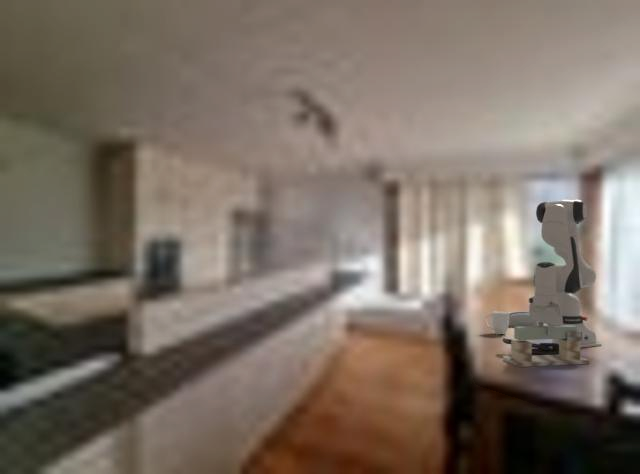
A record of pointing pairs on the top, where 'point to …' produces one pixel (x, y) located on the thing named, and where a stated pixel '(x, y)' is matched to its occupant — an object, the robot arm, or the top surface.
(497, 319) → the mug
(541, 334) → the rail
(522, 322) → the grey curved block
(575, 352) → the rail posts
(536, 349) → the zipper pull
